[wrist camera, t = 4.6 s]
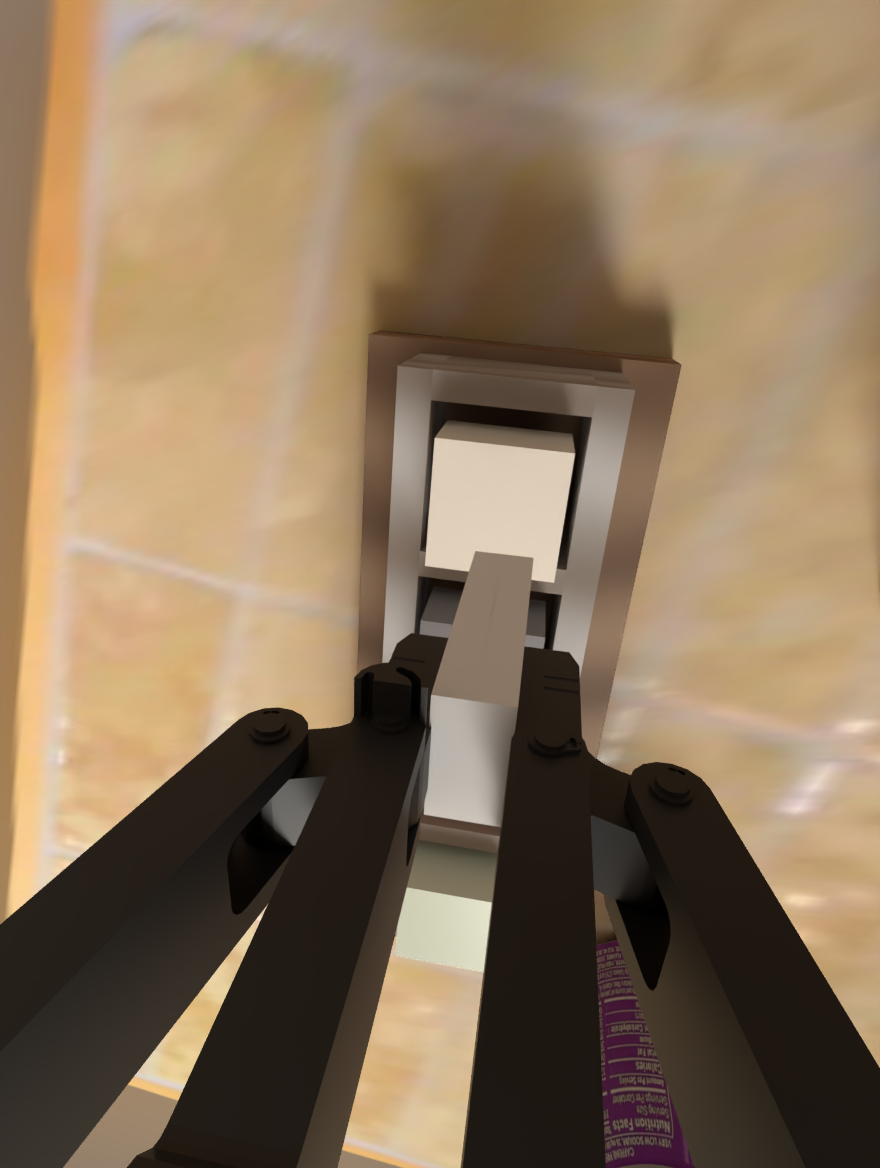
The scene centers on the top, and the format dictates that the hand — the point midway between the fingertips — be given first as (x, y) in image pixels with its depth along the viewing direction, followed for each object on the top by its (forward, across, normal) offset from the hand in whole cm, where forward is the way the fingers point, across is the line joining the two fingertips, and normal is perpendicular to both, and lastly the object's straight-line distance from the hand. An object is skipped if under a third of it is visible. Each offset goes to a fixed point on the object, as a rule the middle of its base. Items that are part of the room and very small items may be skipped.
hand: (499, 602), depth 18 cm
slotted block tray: (+13, -1, -9) cm, 16 cm away
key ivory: (+8, -1, +1) cm, 8 cm away
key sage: (+8, -1, -19) cm, 21 cm away
